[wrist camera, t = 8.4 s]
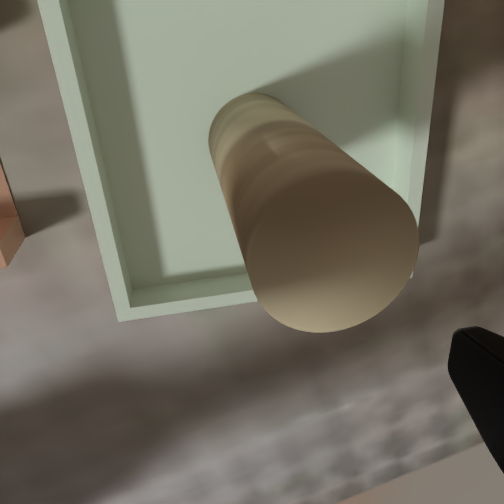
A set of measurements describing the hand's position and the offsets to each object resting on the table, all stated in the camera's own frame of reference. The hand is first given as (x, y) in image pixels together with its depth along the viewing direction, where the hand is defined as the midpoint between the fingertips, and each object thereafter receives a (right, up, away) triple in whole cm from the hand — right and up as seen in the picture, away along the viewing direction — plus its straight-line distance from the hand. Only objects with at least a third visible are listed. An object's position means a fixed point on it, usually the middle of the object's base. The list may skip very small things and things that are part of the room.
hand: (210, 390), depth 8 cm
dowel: (+1, +7, +10) cm, 12 cm away
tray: (+1, +7, +11) cm, 13 cm away
